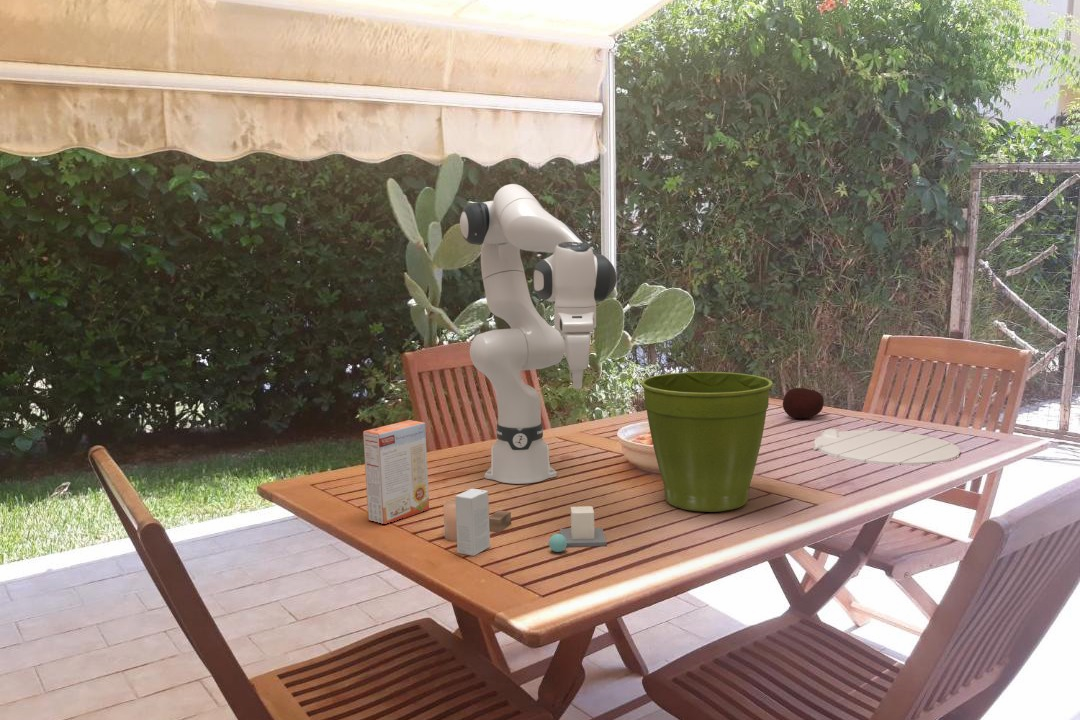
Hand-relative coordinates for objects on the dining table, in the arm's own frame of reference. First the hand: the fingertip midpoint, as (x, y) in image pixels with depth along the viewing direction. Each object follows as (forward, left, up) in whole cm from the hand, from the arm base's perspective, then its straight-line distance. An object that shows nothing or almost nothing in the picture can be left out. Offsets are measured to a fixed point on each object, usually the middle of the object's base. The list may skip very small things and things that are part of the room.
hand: (575, 384), depth 197 cm
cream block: (+9, 0, -30) cm, 32 cm away
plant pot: (-15, +31, -31) cm, 47 cm away
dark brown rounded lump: (-104, +82, -31) cm, 136 cm away
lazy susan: (-63, +92, -32) cm, 116 cm away
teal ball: (+16, -5, -31) cm, 35 cm away
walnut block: (0, -17, -31) cm, 36 cm away
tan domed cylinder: (+5, -25, -31) cm, 40 cm away
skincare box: (+14, -22, -31) cm, 41 cm away
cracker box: (-10, -40, -31) cm, 52 cm away
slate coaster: (+9, 0, -31) cm, 32 cm away
